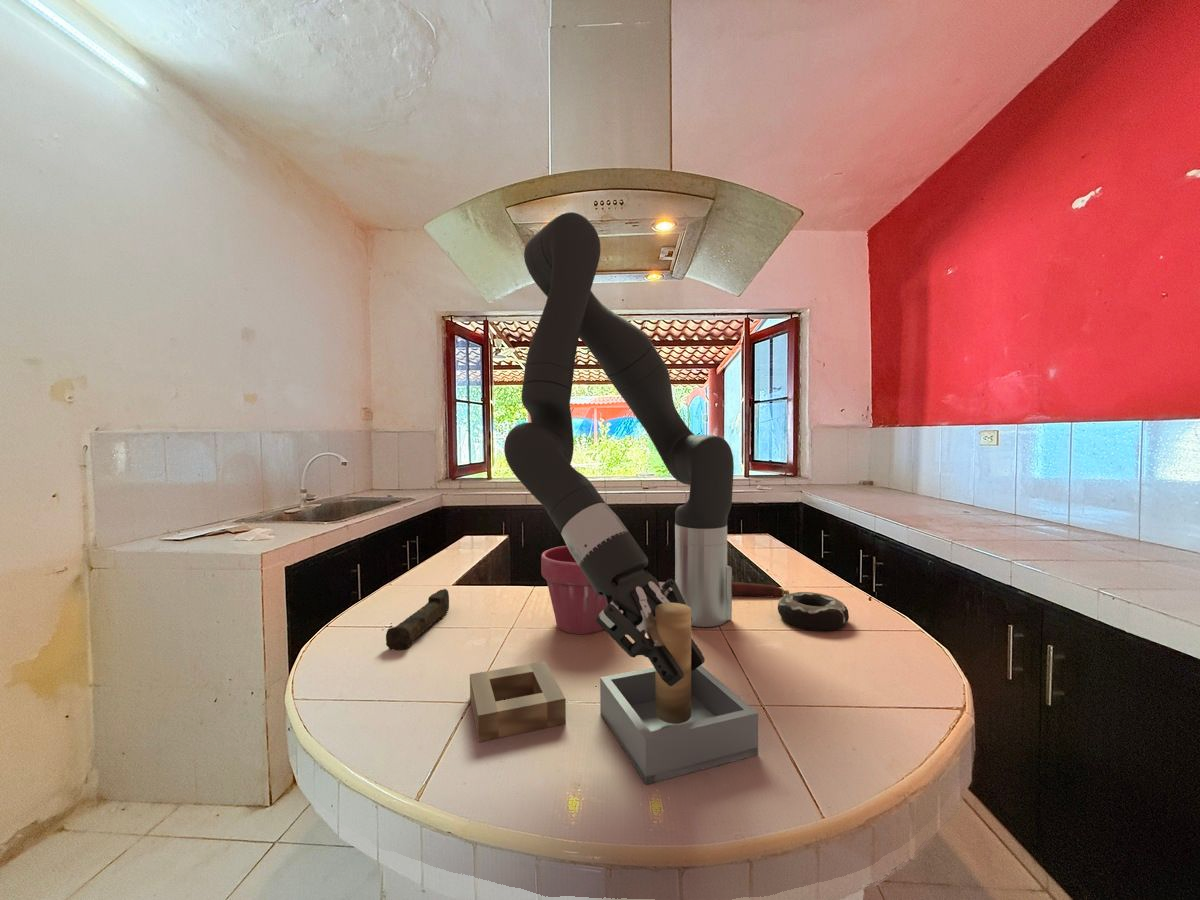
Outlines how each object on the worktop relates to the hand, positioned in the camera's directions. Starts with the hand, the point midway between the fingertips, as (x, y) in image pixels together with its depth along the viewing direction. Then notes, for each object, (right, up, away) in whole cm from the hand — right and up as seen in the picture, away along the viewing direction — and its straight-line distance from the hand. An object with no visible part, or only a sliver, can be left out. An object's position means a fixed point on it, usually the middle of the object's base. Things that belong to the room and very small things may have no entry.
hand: (688, 673), depth 55 cm
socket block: (-20, -7, +6) cm, 22 cm away
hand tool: (-41, -7, +33) cm, 53 cm away
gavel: (+19, -6, +48) cm, 52 cm away
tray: (-1, -7, +1) cm, 8 cm away
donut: (+28, -6, +34) cm, 45 cm away
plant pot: (-13, -7, +34) cm, 37 cm away
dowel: (-1, -5, +1) cm, 6 cm away
